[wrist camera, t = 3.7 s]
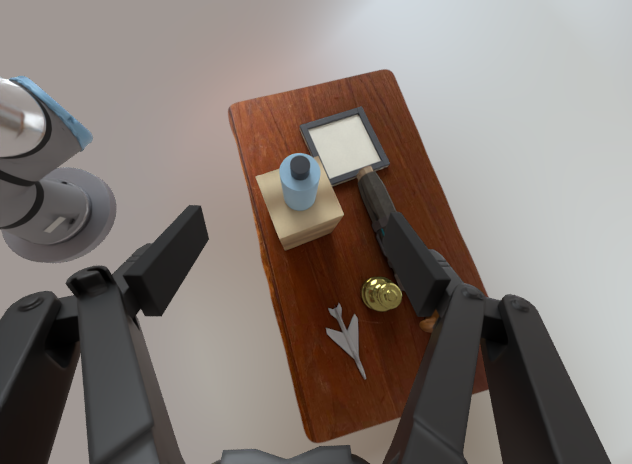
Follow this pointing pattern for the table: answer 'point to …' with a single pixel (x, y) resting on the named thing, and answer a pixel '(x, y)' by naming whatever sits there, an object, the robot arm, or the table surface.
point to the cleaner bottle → (299, 180)
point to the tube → (377, 206)
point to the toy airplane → (346, 336)
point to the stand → (304, 223)
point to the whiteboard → (344, 145)
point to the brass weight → (380, 294)
